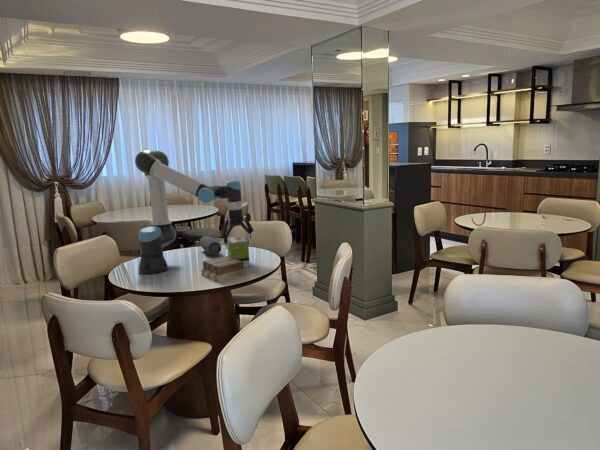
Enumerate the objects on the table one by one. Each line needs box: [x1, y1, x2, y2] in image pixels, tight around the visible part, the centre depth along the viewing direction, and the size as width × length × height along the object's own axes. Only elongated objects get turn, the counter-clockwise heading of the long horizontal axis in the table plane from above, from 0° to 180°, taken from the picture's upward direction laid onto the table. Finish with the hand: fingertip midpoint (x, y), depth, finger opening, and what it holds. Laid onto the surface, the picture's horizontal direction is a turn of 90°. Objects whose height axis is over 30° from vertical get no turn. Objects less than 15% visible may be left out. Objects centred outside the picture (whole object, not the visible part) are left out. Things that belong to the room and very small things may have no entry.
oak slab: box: [201, 268, 246, 283], centre depth 222 cm, size 18×15×4 cm
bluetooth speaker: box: [199, 235, 222, 256], centre depth 271 cm, size 23×9×10 cm, turn 25°
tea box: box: [227, 235, 251, 268], centre depth 241 cm, size 15×10×15 cm, turn 17°
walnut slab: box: [202, 255, 245, 275], centre depth 222 cm, size 17×14×4 cm
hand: (238, 246), depth 241 cm, fingers open, 13 cm apart
